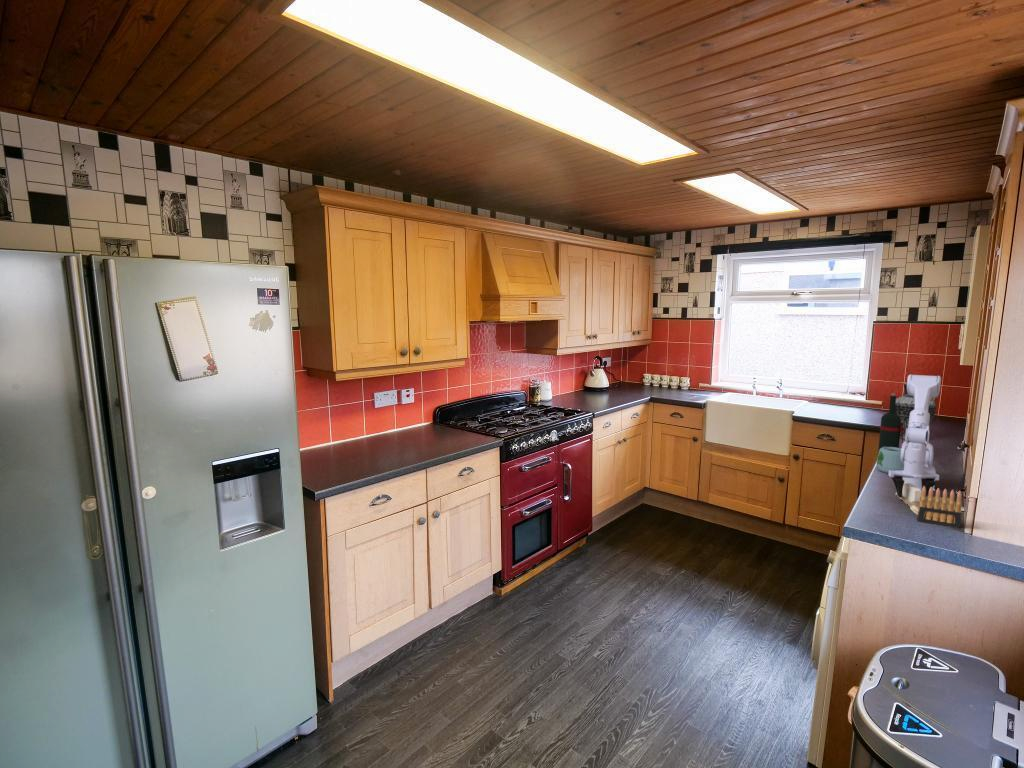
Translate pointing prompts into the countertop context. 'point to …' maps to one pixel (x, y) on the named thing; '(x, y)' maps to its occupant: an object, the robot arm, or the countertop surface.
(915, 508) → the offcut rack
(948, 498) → the sage mat
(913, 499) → the cream rectangular block
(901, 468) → the mug
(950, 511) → the ammunition clip
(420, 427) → the countertop surface
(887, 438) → the wine bottle
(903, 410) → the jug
